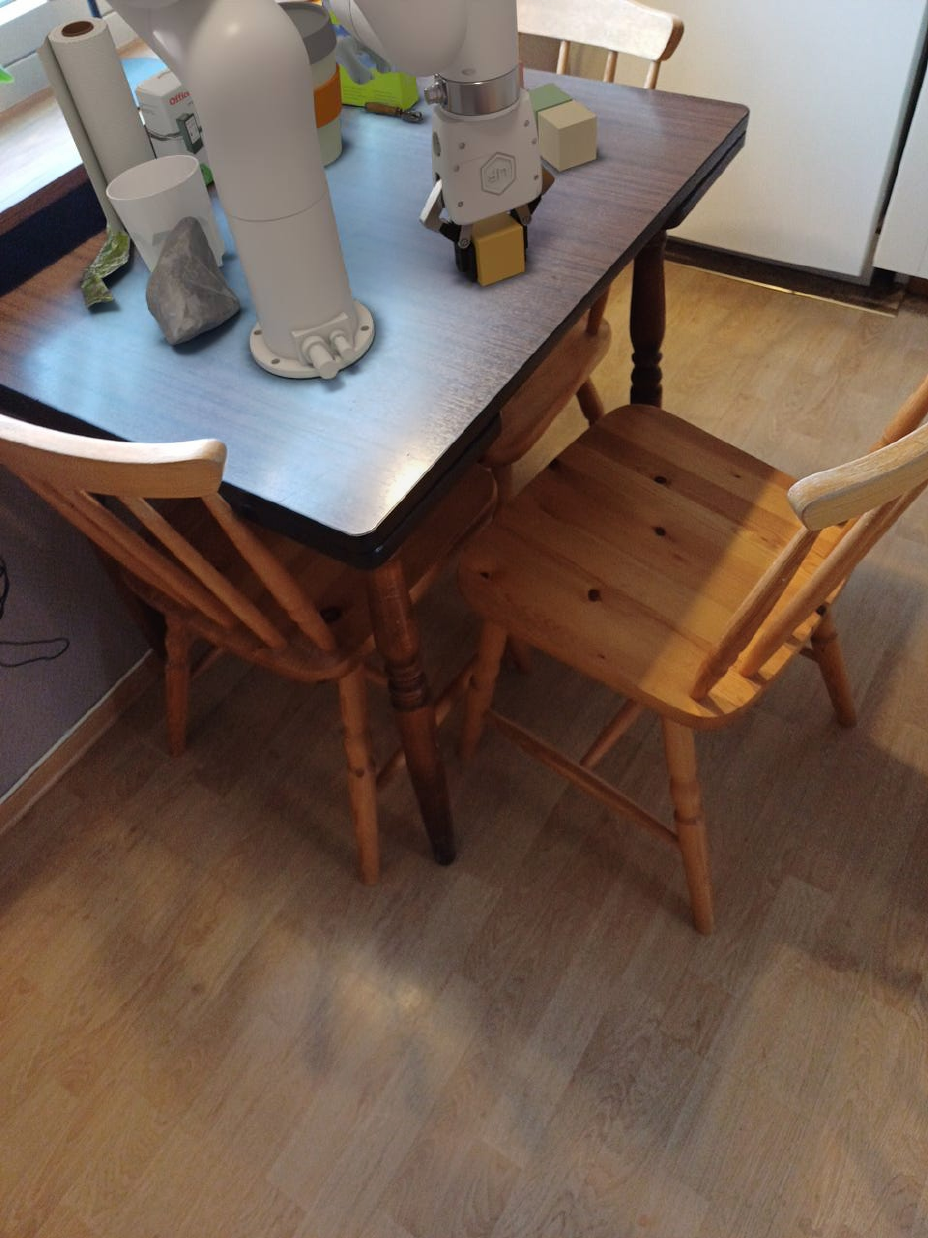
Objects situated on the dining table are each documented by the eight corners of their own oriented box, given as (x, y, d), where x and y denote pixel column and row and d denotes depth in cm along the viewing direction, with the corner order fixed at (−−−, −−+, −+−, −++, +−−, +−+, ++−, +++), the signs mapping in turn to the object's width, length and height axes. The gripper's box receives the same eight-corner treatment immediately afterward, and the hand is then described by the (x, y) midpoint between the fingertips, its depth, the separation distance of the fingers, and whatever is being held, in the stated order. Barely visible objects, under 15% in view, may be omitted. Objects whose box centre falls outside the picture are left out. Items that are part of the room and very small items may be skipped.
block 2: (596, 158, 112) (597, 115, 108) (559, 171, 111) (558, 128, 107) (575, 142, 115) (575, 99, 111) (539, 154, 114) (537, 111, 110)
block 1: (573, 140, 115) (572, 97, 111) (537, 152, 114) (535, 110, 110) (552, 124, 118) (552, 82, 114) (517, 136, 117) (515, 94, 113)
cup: (251, 251, 105) (217, 160, 98) (182, 296, 101) (141, 205, 93) (198, 237, 110) (162, 150, 103) (131, 279, 106) (88, 192, 99)
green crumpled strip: (114, 299, 100) (118, 321, 102) (169, 192, 117) (172, 212, 119) (52, 292, 100) (57, 314, 102) (117, 185, 116) (120, 206, 118)
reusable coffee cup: (261, 187, 116) (225, 55, 104) (255, 139, 123) (221, 11, 111) (362, 167, 116) (338, 34, 104) (350, 121, 124) (326, -8, 112)
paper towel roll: (175, 206, 114) (105, 9, 97) (179, 231, 111) (107, 32, 94) (116, 220, 114) (35, 24, 97) (118, 246, 110) (34, 47, 93)
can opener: (364, 112, 125) (362, 103, 124) (375, 104, 126) (373, 95, 125) (419, 125, 121) (418, 116, 120) (429, 117, 122) (428, 108, 121)
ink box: (193, 196, 116) (159, 95, 107) (165, 187, 118) (130, 88, 109) (240, 163, 120) (212, 63, 110) (212, 155, 122) (182, 56, 112)
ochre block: (525, 271, 100) (522, 226, 96) (482, 286, 99) (478, 242, 95) (503, 249, 102) (500, 205, 99) (461, 264, 101) (457, 220, 98)
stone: (192, 310, 106) (109, 281, 98) (241, 228, 101) (157, 191, 93) (231, 382, 101) (147, 357, 93) (284, 299, 95) (200, 266, 88)
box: (338, 104, 127) (309, -45, 113) (353, 90, 129) (327, -58, 116) (406, 114, 124) (385, -39, 110) (421, 100, 126) (402, -52, 112)
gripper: (410, 129, 82) (435, 310, 97) (581, 73, 85) (580, 255, 100) (377, 97, 86) (406, 275, 101) (541, 45, 90) (546, 224, 104)
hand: (492, 263), depth 100 cm, fingers closed on ochre block, 5 cm apart
